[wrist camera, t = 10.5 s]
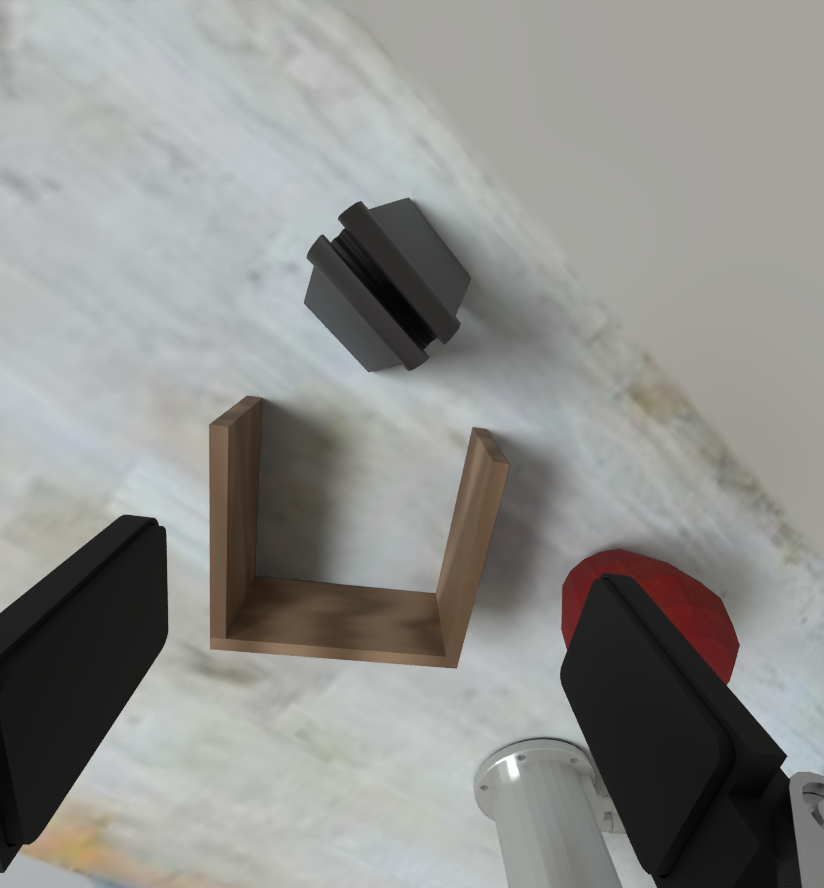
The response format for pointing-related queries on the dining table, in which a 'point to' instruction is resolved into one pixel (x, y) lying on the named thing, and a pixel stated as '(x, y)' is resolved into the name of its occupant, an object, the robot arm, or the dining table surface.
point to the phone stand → (386, 285)
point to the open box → (333, 605)
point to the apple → (660, 603)
